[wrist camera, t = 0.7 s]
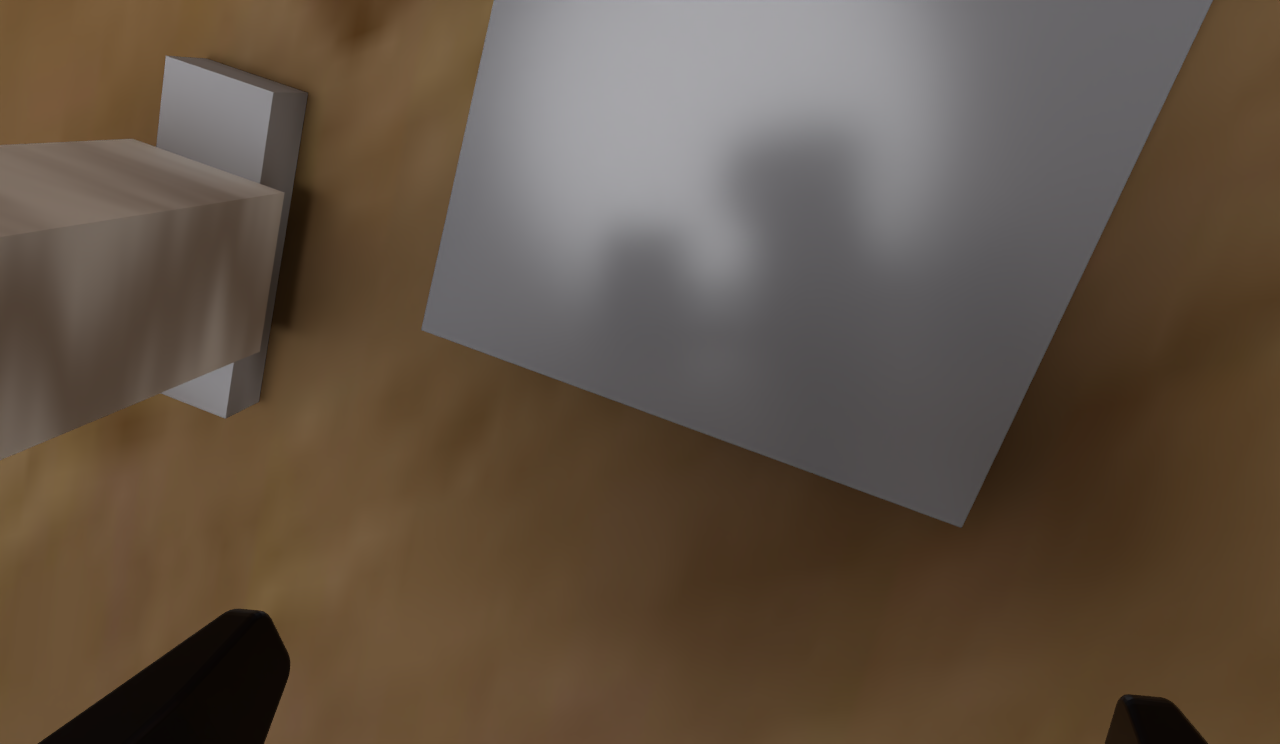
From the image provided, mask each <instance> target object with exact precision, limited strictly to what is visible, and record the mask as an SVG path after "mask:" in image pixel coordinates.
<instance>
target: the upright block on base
mask: <svg viewBox="0 0 1280 744" xmlns="http://www.w3.org/2000/svg"><path fill="white" fill-rule="evenodd" d="M307 97H308V93H307V92H304V91H301V90H298V89H295V88H292V87H289V86H286V85H283V84H280V83H277V82H274V81H271V80H268V79H265V78H262V77H260V76H257V75H254V74H251V73H248V72H245V71H242V70H239V69H236V68H233V67H230V66H227V65H224V64H221V63H218V62H215V61H212V60H209V59H205V58H191V57H176V56H166V60H165V70H164V79H163V89H162V98H161V108H160V117H159V127H158V136H157V145H156V147H154V146H152V145H149V144H146V143H143V142H140V141H138V140H135V139H117V140H97V141H76V142H56V143H35V144H15V145H0V460H2V459H4V458H6V457H9V456H11V455H14V454H16V453H18V452H21V451H23V450H26V449H28V448H30V447H33V446H35V445H37V444H40V443H42V442H45V441H47V440H49V439H52V438H54V437H57V436H59V435H61V434H64V433H66V432H69V431H71V430H73V429H76V428H78V427H81V426H83V425H85V424H88V423H90V422H92V421H95V420H97V419H100V418H102V417H104V416H107V415H109V414H112V413H114V412H116V411H119V410H121V409H124V408H126V407H128V406H131V405H133V404H135V403H138V402H140V401H143V400H145V399H147V398H150V397H152V396H155V395H157V394H159V393H161V394H164V395H167V396H169V397H172V398H174V399H177V400H179V401H182V402H185V403H187V404H190V405H192V406H195V407H197V408H200V409H202V410H205V411H208V412H210V413H213V414H215V415H218V416H220V417H223V418H225V419H226V418H228V417H230V416H232V415H234V414H236V413H238V412H240V411H241V410H243V409H245V408H247V407H249V406H251V405H253V404H255V403H257V402H259V398H260V391H261V385H262V379H263V373H264V366H265V360H266V354H267V347H268V341H269V335H270V329H271V322H272V316H273V310H274V304H275V297H276V291H277V285H278V278H279V272H280V266H281V260H282V253H283V247H284V241H285V235H286V228H287V222H288V216H289V209H290V203H291V197H292V191H293V184H294V178H295V172H296V166H297V159H298V153H299V147H300V140H301V134H302V128H303V122H304V115H305V109H306V103H307Z"/></svg>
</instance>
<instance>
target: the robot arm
mask: <svg viewBox="0 0 1280 744" xmlns="http://www.w3.org/2000/svg"><path fill="white" fill-rule="evenodd" d="M289 672H290V658H289V654H288V652H287V650H286V648H285V646H284V644H283V642H282V640H281V638H280V636H279V633H278V631H277V629H276V627H275V625H274V623H273V621H272V619H271V618H270V616H269V615H268V614H267V613H265V612H263V611H258V610H247V609H233V610H229V611H227V612H225V613H224V614H222V615H221V616H219V617H218V618H216V619H215V620H213V621H212V622H211V623H209V624H208V625H206V626H205V627H203V628H202V629H201V630H199V631H198V632H196V633H195V634H193V635H192V636H191V637H189V638H188V639H186V640H185V641H183V642H182V643H181V644H179V645H178V646H176V647H175V648H173V649H172V650H171V651H169V652H168V653H166V654H165V655H163V656H162V657H161V658H159V659H158V660H156V661H155V662H153V663H152V664H151V665H149V666H148V667H146V668H145V669H144V670H142V671H141V672H139V673H138V674H136V675H135V676H134V677H132V678H131V679H129V680H128V681H126V682H125V683H124V684H122V685H121V686H119V687H118V688H116V689H115V690H114V691H112V692H111V693H109V694H108V695H106V696H105V697H104V698H102V699H101V700H99V701H98V702H96V703H95V704H94V705H92V706H91V707H89V708H88V709H86V710H85V711H84V712H82V713H81V714H79V715H78V716H76V717H75V718H74V719H72V720H71V721H69V722H68V723H67V724H65V725H64V726H62V727H61V728H59V729H58V730H57V731H55V732H54V733H52V734H51V735H49V736H48V737H47V738H45V739H44V740H42V741H41V742H39V743H38V744H264V742H265V739H266V737H267V734H268V731H269V729H270V726H271V723H272V720H273V718H274V715H275V712H276V710H277V707H278V704H279V702H280V699H281V696H282V693H283V691H284V688H285V685H286V683H287V680H288V676H289ZM1105 744H1208V743H1207V742H1206V741H1205V739H1204V738H1203V737H1202V736H1201V735H1200V733H1199V732H1198V731H1197V730H1196V729H1195V727H1194V726H1193V725H1192V724H1191V723H1190V721H1189V720H1188V719H1187V718H1186V717H1185V715H1184V714H1183V713H1182V712H1181V711H1180V709H1179V708H1178V707H1177V706H1176V705H1175V704H1174V703H1172V702H1171V701H1169V700H1167V699H1165V698H1161V697H1151V696H1141V695H1130V694H1128V695H1123V696H1122V697H1121V698H1120V699H1119V700H1118V702H1117V705H1116V708H1115V711H1114V715H1113V718H1112V721H1111V725H1110V728H1109V731H1108V735H1107V738H1106V741H1105Z"/></svg>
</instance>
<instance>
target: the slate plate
mask: <svg viewBox="0 0 1280 744" xmlns="http://www.w3.org/2000/svg"><path fill="white" fill-rule="evenodd" d="M1212 1H1213V0H494V2H493V7H492V11H491V16H490V21H489V25H488V30H487V34H486V39H485V43H484V48H483V52H482V57H481V61H480V66H479V70H478V75H477V80H476V84H475V89H474V93H473V98H472V102H471V107H470V111H469V116H468V120H467V125H466V129H465V134H464V139H463V143H462V148H461V152H460V157H459V161H458V166H457V170H456V175H455V179H454V184H453V188H452V193H451V198H450V202H449V207H448V211H447V216H446V220H445V225H444V229H443V234H442V238H441V243H440V247H439V252H438V256H437V261H436V266H435V270H434V275H433V279H432V284H431V288H430V293H429V297H428V302H427V306H426V311H425V315H424V320H423V325H422V329H421V330H423V331H426V332H428V333H431V334H434V335H436V336H439V337H442V338H445V339H447V340H450V341H453V342H456V343H458V344H461V345H464V346H466V347H469V348H472V349H475V350H477V351H480V352H483V353H486V354H488V355H491V356H494V357H497V358H499V359H502V360H505V361H507V362H510V363H513V364H516V365H518V366H521V367H524V368H527V369H529V370H532V371H535V372H537V373H540V374H543V375H546V376H548V377H551V378H554V379H557V380H559V381H562V382H565V383H567V384H570V385H573V386H576V387H578V388H581V389H584V390H587V391H589V392H592V393H595V394H597V395H600V396H603V397H606V398H608V399H611V400H614V401H617V402H619V403H622V404H625V405H628V406H630V407H633V408H636V409H638V410H641V411H644V412H647V413H649V414H652V415H655V416H658V417H660V418H663V419H666V420H668V421H671V422H674V423H677V424H679V425H682V426H685V427H688V428H690V429H693V430H696V431H698V432H701V433H704V434H707V435H709V436H712V437H715V438H718V439H720V440H723V441H726V442H728V443H731V444H734V445H737V446H739V447H742V448H745V449H748V450H750V451H753V452H756V453H759V454H761V455H764V456H767V457H769V458H772V459H775V460H778V461H780V462H783V463H786V464H789V465H791V466H794V467H797V468H799V469H802V470H805V471H808V472H810V473H813V474H816V475H819V476H821V477H824V478H827V479H829V480H832V481H835V482H838V483H840V484H843V485H846V486H849V487H851V488H854V489H857V490H859V491H862V492H865V493H868V494H870V495H873V496H876V497H879V498H881V499H884V500H887V501H890V502H892V503H895V504H898V505H900V506H903V507H906V508H909V509H911V510H914V511H917V512H920V513H922V514H925V515H928V516H930V517H933V518H936V519H939V520H941V521H944V522H947V523H950V524H952V525H955V526H958V527H960V528H962V526H963V524H964V522H965V520H966V518H967V516H968V513H969V511H970V509H971V507H972V505H973V503H974V501H975V499H976V497H977V495H978V492H979V490H980V488H981V486H982V484H983V482H984V480H985V478H986V476H987V474H988V471H989V469H990V467H991V465H992V463H993V461H994V459H995V457H996V455H997V453H998V450H999V448H1000V446H1001V444H1002V442H1003V440H1004V438H1005V436H1006V434H1007V432H1008V429H1009V427H1010V425H1011V423H1012V421H1013V419H1014V417H1015V415H1016V413H1017V411H1018V408H1019V406H1020V404H1021V402H1022V400H1023V398H1024V396H1025V394H1026V392H1027V390H1028V387H1029V385H1030V383H1031V381H1032V379H1033V377H1034V375H1035V373H1036V371H1037V369H1038V366H1039V364H1040V362H1041V360H1042V358H1043V356H1044V354H1045V352H1046V350H1047V348H1048V345H1049V343H1050V341H1051V339H1052V337H1053V335H1054V333H1055V331H1056V329H1057V327H1058V324H1059V322H1060V320H1061V318H1062V316H1063V314H1064V312H1065V310H1066V308H1067V306H1068V303H1069V301H1070V299H1071V297H1072V295H1073V293H1074V291H1075V289H1076V287H1077V285H1078V282H1079V280H1080V278H1081V276H1082V274H1083V272H1084V270H1085V268H1086V266H1087V264H1088V261H1089V259H1090V257H1091V255H1092V253H1093V251H1094V249H1095V247H1096V245H1097V243H1098V240H1099V238H1100V236H1101V234H1102V232H1103V230H1104V228H1105V226H1106V224H1107V222H1108V219H1109V217H1110V215H1111V213H1112V211H1113V209H1114V207H1115V205H1116V203H1117V201H1118V198H1119V196H1120V194H1121V192H1122V190H1123V188H1124V186H1125V184H1126V182H1127V179H1128V177H1129V175H1130V173H1131V171H1132V169H1133V167H1134V165H1135V163H1136V161H1137V158H1138V156H1139V154H1140V152H1141V150H1142V148H1143V146H1144V144H1145V142H1146V140H1147V137H1148V135H1149V133H1150V131H1151V129H1152V127H1153V125H1154V123H1155V121H1156V119H1157V116H1158V114H1159V112H1160V110H1161V108H1162V106H1163V104H1164V102H1165V100H1166V98H1167V95H1168V93H1169V91H1170V89H1171V87H1172V85H1173V83H1174V81H1175V79H1176V77H1177V74H1178V72H1179V70H1180V68H1181V66H1182V64H1183V62H1184V60H1185V58H1186V56H1187V53H1188V51H1189V49H1190V47H1191V45H1192V43H1193V41H1194V39H1195V37H1196V35H1197V32H1198V30H1199V28H1200V26H1201V24H1202V22H1203V20H1204V18H1205V16H1206V14H1207V11H1208V9H1209V7H1210V5H1211V3H1212Z"/></svg>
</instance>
